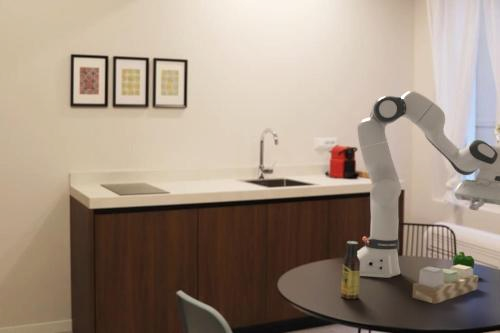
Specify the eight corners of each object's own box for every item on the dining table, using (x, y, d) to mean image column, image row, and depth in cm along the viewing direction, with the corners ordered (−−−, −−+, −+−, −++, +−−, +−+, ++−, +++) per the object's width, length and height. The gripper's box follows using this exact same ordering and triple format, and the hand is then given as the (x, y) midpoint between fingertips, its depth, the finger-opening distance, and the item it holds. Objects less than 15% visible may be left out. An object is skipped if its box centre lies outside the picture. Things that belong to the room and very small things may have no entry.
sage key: (443, 286, 228) (444, 268, 227) (457, 290, 223) (458, 271, 223) (434, 289, 224) (435, 270, 223) (449, 293, 220) (450, 274, 219)
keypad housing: (455, 283, 237) (456, 271, 236) (477, 289, 230) (478, 276, 230) (412, 297, 218) (413, 283, 217) (434, 304, 211) (435, 289, 210)
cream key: (457, 282, 235) (458, 264, 234) (472, 285, 230) (473, 267, 229) (449, 284, 231) (450, 266, 230) (463, 288, 226) (464, 269, 225)
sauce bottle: (338, 294, 219) (340, 239, 218) (356, 294, 220) (358, 239, 218) (343, 300, 213) (345, 243, 211) (360, 300, 213) (363, 244, 212)
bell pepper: (464, 271, 255) (465, 248, 254) (477, 277, 247) (479, 252, 246) (447, 273, 252) (448, 249, 251) (460, 278, 244) (461, 253, 243)
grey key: (428, 285, 221) (429, 266, 220) (443, 289, 217) (444, 269, 216) (418, 288, 217) (419, 268, 217) (433, 292, 213) (434, 272, 212)
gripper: (460, 174, 245) (445, 200, 240) (510, 179, 230) (495, 207, 224) (465, 184, 248) (451, 210, 243) (514, 190, 233) (501, 218, 228)
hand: (473, 209), depth 233 cm, fingers closed
